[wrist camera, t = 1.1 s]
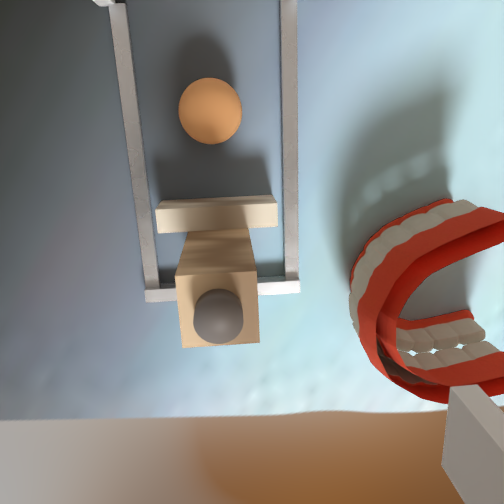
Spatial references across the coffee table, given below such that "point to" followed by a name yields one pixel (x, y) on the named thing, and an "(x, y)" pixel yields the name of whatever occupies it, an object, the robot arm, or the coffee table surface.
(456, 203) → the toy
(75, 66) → the coffee table surface
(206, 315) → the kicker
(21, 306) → the coffee table surface
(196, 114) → the ball
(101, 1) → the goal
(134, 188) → the rails
